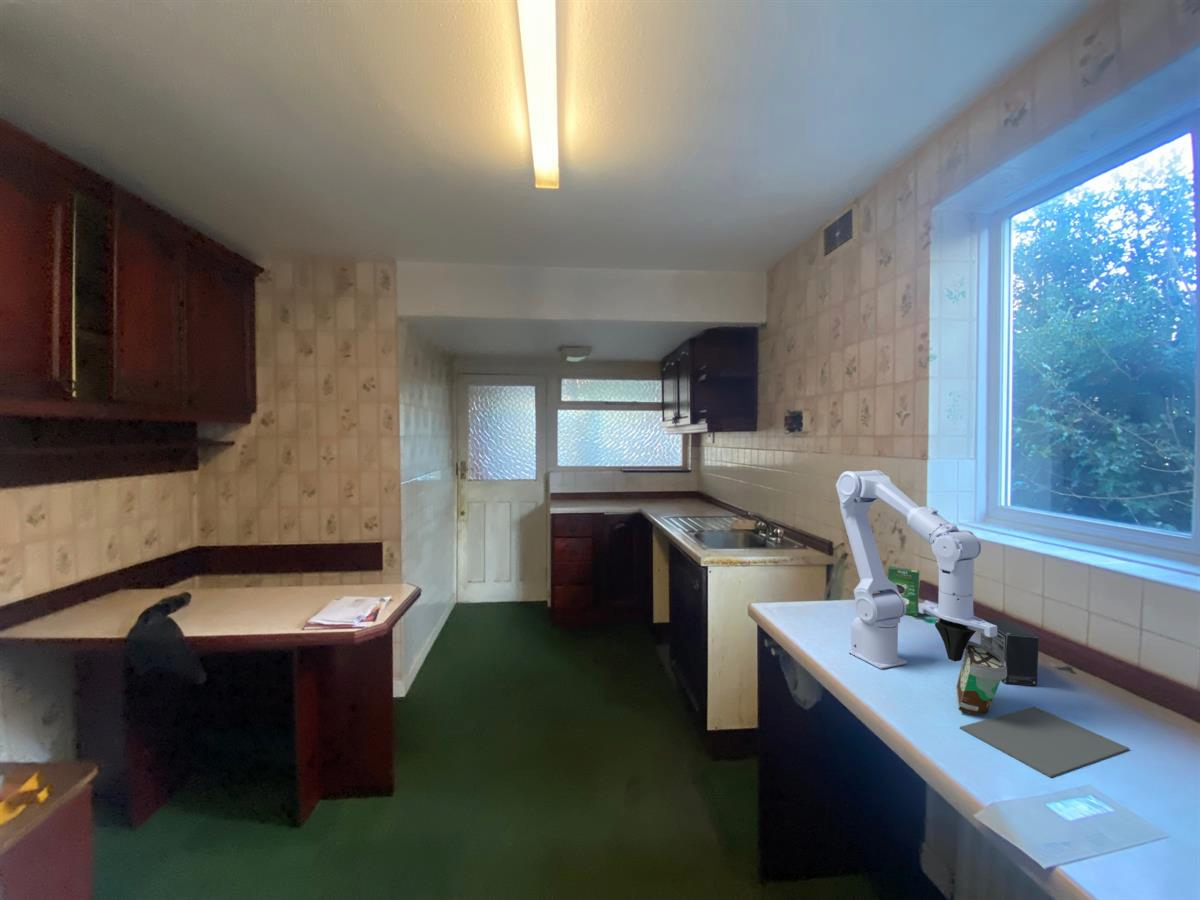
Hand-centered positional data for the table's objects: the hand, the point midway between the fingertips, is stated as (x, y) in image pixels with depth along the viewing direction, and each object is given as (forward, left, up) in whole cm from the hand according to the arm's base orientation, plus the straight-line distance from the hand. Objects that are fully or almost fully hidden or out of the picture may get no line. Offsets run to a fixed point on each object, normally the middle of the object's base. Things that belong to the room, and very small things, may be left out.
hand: (954, 659), depth 103 cm
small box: (-3, +20, -8) cm, 22 cm away
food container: (+4, 0, -7) cm, 8 cm away
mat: (+15, 0, -7) cm, 17 cm away
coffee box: (-39, +32, -8) cm, 51 cm away
